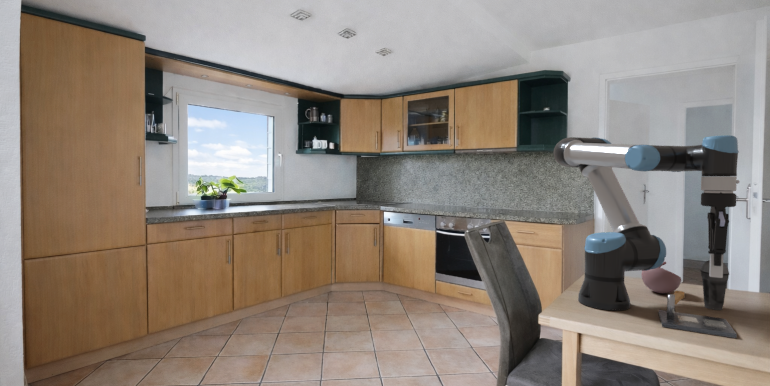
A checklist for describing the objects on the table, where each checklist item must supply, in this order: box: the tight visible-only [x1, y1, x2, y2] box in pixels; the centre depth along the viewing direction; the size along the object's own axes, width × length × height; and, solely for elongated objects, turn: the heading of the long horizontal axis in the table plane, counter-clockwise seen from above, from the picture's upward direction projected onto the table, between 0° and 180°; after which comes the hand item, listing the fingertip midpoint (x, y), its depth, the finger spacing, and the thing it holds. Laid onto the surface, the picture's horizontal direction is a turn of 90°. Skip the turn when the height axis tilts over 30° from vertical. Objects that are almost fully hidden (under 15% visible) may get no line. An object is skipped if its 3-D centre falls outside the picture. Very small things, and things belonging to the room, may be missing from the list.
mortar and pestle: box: [641, 261, 682, 294], centre depth 146 cm, size 12×12×11 cm
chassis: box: [657, 293, 738, 339], centre depth 114 cm, size 16×13×8 cm
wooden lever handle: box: [672, 290, 685, 306], centre depth 122 cm, size 12×2×2 cm, turn 134°
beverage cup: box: [700, 259, 730, 311], centre depth 129 cm, size 7×7×20 cm
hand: (715, 276), depth 111 cm, fingers closed
